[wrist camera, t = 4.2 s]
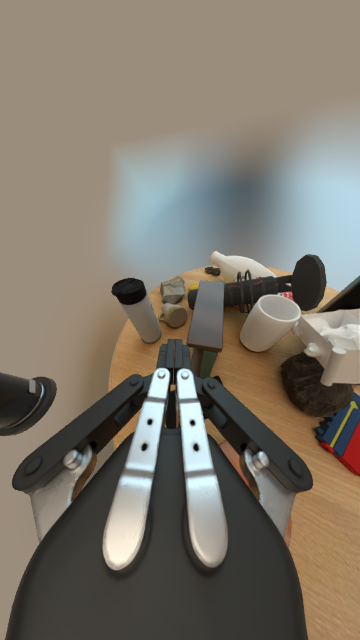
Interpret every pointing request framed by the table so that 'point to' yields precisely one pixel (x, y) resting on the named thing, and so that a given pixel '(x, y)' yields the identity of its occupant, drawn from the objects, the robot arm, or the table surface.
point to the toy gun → (343, 435)
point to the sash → (207, 363)
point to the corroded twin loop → (213, 270)
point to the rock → (313, 387)
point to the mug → (173, 314)
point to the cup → (269, 322)
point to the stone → (172, 290)
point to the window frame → (206, 322)
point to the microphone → (276, 286)
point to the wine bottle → (345, 299)
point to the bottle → (238, 267)
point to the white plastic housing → (333, 343)
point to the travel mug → (138, 308)
